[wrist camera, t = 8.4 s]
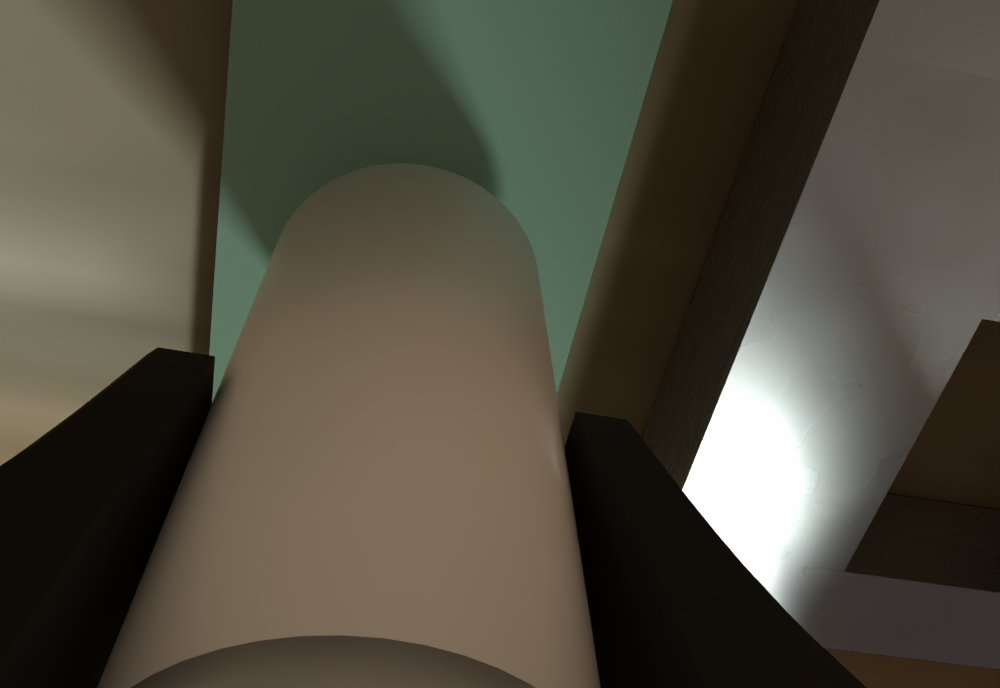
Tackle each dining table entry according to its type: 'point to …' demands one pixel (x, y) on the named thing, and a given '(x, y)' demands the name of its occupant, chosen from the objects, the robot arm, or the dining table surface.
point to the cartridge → (376, 467)
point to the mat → (432, 123)
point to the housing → (850, 328)
